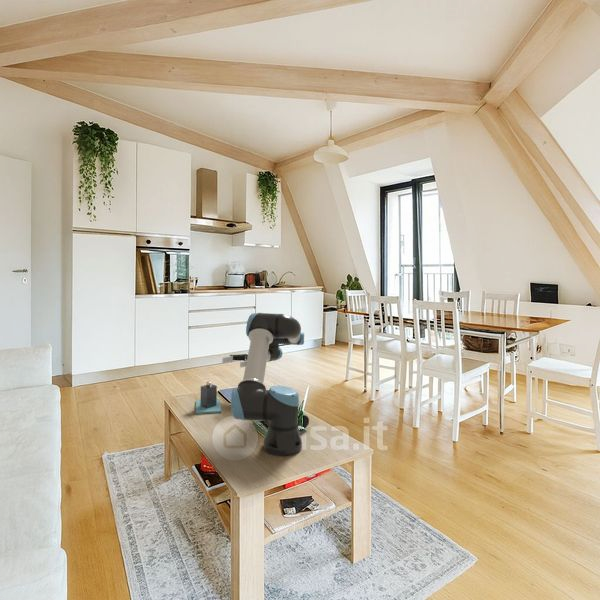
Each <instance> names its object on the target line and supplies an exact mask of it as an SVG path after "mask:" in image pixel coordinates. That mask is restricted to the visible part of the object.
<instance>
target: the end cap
mask: <svg viewBox="0 0 600 600" xmlns="http://www.w3.org/2000/svg"><path fill="white" fill-rule="evenodd" d="M309 423H310V418H309V417H308V415H306V414H304V413H303V427H304V428H305V429H306V428H307V427H308V426H309Z"/></svg>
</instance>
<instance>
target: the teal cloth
mask: <svg viewBox="0 0 600 600" xmlns="http://www.w3.org/2000/svg"><path fill="white" fill-rule="evenodd" d="M195 402H196V403H195V415H207V413H211V414H222V405H221V399H220V398H217V405H216V406H213V407H210V408H204V407H202V406H200V403H201V399H195Z"/></svg>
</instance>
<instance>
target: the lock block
mask: <svg viewBox="0 0 600 600" xmlns="http://www.w3.org/2000/svg"><path fill="white" fill-rule="evenodd" d="M205 383H206V384H205V385H201V386H200V400H201V403H200V406H202V407H204V408H210V407H213V406H216V405H217V399H218V398H217V394H218V393H217V391H218V385H215V384H212V381H206V382H205Z"/></svg>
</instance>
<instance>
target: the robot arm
mask: <svg viewBox="0 0 600 600" xmlns="http://www.w3.org/2000/svg"><path fill="white" fill-rule="evenodd" d="M245 327H246V328H245V334H246V336H247V338H248V339H249V341H250V342H249V348H248V353H241V354H229V356H225V357H222V359H221V360H222V361H221V362H222V364H225V363H230V362H231V363H232V362H233V361H240V362H239V367H240V368H243V367H244V368H245V369H244V373H243V378H242V380H241V381H240V382H239V383H238V385H237V388H233V389H232V390H231V395H230V396H231V397H230V409H231V415H232V417H233V418H234V419H236V420H241V421H260V422H261V421H263V422H265V421H266V422H268V428H267V430H266V434H265V436H264V439H263V449H264V451H266V452H267V453H269V454H270V455H271V454H272V455H275V456H291V455H296V454H298V453H299V452H300V451H301V450H302V448H303V440H302V437H301V434H300V431H299V429H298V411H299V408H300V407H299V406H300V398H299V397H300V395H299V393H298V391H297V390H296V389H294V388H293V387H289V386H285V385H272V386H270V387H269V389H267V387H266V385H265V384H264V381H265V374H266V369H267V363H268V362H275V361H278V360H280V359H281V358H283V350H282V348H281V347H280V345H292V346H293V345H296V346H303V345H305V332H304V331H302V328H301V323H300V321H298V320H297V319H296V318H294V317H293V316H290V315H287V314H284V313H269V312H268V313H266V312H265V313H264V312H256V313H255V312H254V313H251V314H250V315H249V316H248V318H247V320H246V326H245Z"/></svg>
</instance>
